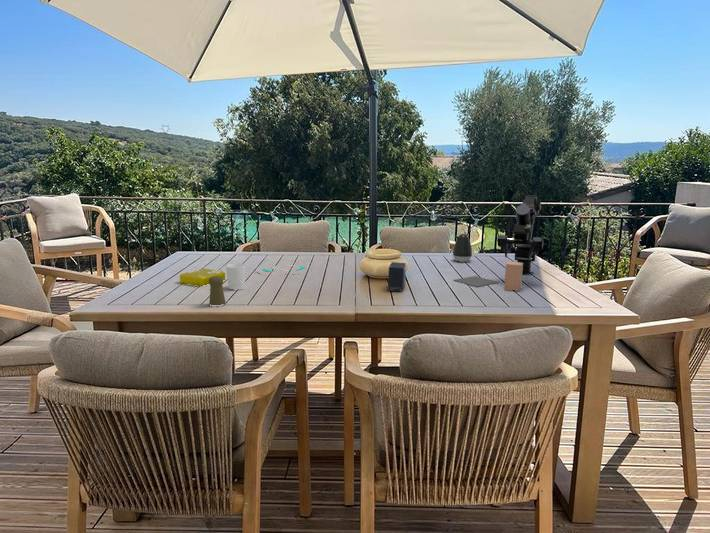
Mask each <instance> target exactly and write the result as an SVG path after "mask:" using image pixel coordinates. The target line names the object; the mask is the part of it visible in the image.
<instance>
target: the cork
mask: <svg viewBox="0 0 710 533" xmlns="http://www.w3.org/2000/svg"><path fill="white" fill-rule="evenodd" d="M209 284H210V285H209V287H210V288H209V303H208V305H209V304H211V305H221V304H225V303H226V298H225V293H224V288H223V284H224V281H223V278H222V277H221V276H212V277H210V278H209ZM226 304H227V303H226Z"/></svg>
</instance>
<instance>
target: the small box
mask: <svg viewBox="0 0 710 533" xmlns="http://www.w3.org/2000/svg"><path fill="white" fill-rule="evenodd" d="M406 267H407V265H406V262H405V263H404V262H394V261H392V262H391V263H390V264H389V266H388V278H387V279H388V283H387V285H388V286H387V291H388V292H397V293H403V291H404V289H405V287H406V272H407V271H406V270H407V268H406Z"/></svg>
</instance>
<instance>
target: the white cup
mask: <svg viewBox="0 0 710 533" xmlns="http://www.w3.org/2000/svg"><path fill="white" fill-rule="evenodd" d="M225 270H226V278H227V279H226V280H227V286H228V289H229V288H230V289H242V288H244V287H245V288H246V264H244V263H231V264H230V263H229V264H227V265H226V266H225Z"/></svg>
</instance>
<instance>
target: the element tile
mask: <svg viewBox="0 0 710 533" xmlns="http://www.w3.org/2000/svg"><path fill="white" fill-rule="evenodd" d="M212 276H221V277H222V278H223V280H225V281H226V273H225V271H222V270H215V269H208V268H200V269H197V270H191V271H188V272H183V273H180V274H179V283H180V284H181V283H185V284H184V285H186V284H191V285H197V286H203V285H207V284H209V278H210V277H212ZM191 285H190V286H191ZM197 286H196V287H197Z"/></svg>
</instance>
